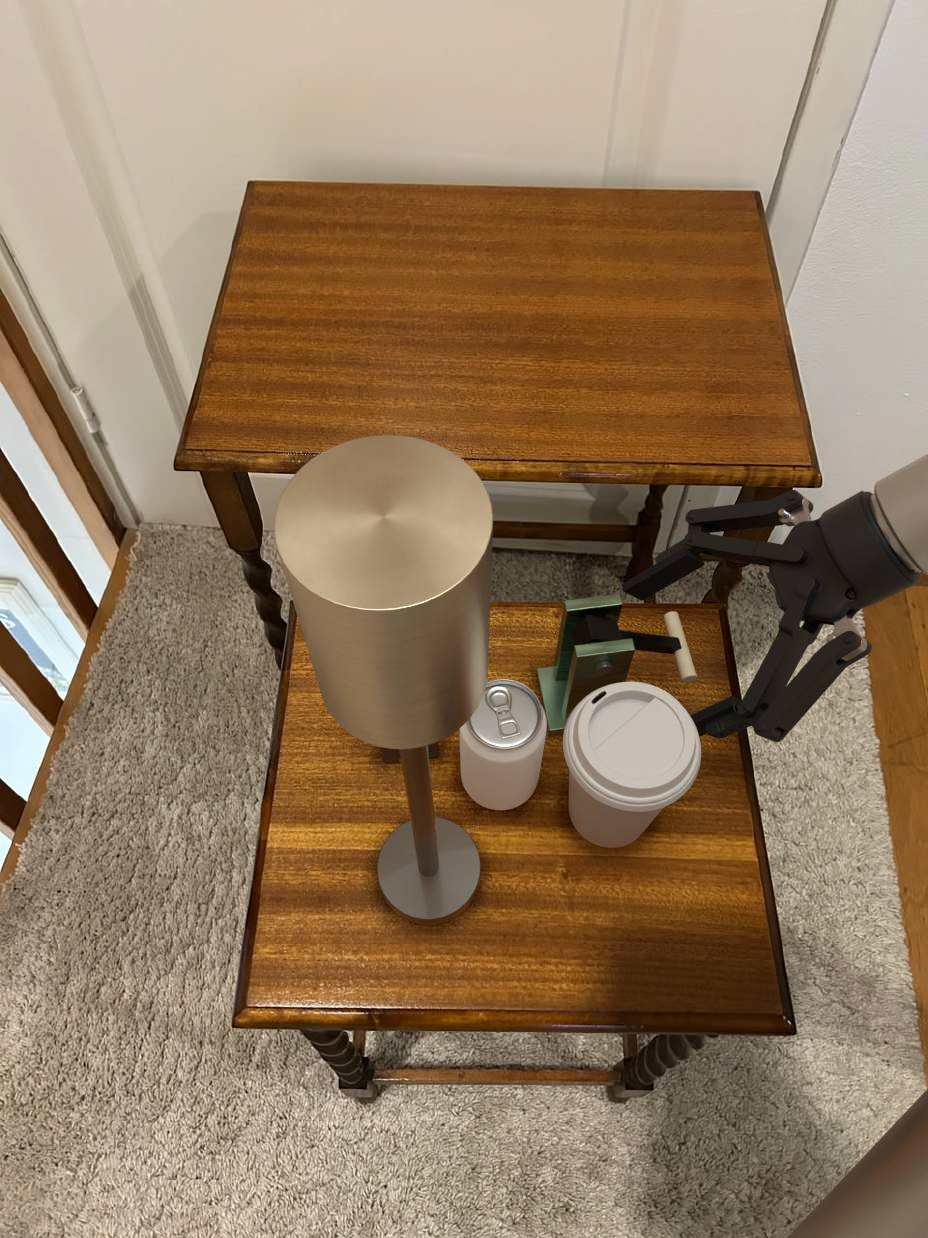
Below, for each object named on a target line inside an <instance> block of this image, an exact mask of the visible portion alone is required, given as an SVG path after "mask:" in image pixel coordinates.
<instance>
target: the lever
mask: <svg viewBox="0 0 928 1238" xmlns="http://www.w3.org/2000/svg"><path fill="white" fill-rule="evenodd" d="M679 615H680V614H679V613H678V612H677V611H675V610H674V611H673V610H672V611H668V612H666V613H665V614H663V621H664V624H665V627H666V631H667V635H662V634H654V633H648V632H647V633H645V632H638V631H630V630H624V629H623V630H621V629H620V627H619V624H618V623H619V622H618V623H617V619H615V618H608V617H600V616H592V615H585V616H584V617H583V619H582V620H581V621H580V622H579V623H578V624H577V625H576V626H575V627H574V628H573V629H572V630H571V633H572V638H573V642H574V646H575V645H583V644H591V643H599V642H607V641H615V640H623V639H631V638H632V639H633V643H634V647H635V651H641V652H650V653H658V654H667V655H674V659H675V660H676V666H677V669H678V672H679V675H680V679H681V682H682V683H691V682H694V681H696V680H697V678H698V675H697V672H696V668H695V666H694V661H693V659H692V655H691V652H690V649H689V646H688V642H687V639H686V636H685V633H684V629H683V625H682V623H681V619H680V616H679Z"/></svg>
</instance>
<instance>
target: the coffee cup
mask: <svg viewBox="0 0 928 1238" xmlns="http://www.w3.org/2000/svg"><path fill="white" fill-rule="evenodd" d="M690 715H691V714H690V713H689V712H688V711H687V710H686V708H685V707H684V706H683V704H682V703H681V702H680V701H678V699H676V698H675V697H674V696H673V695H672V694H671V693H669V692H667V691H666V690H664V689H662V688H660V687H659V686H656V685H653V684H650V683H646V682H641V681H625V682H621V683H614V684H610V685H607V686H604V687H601V688H599V689H597V690H595V691H593V692H592V693H590V694H589V695H587V696H586V697H585V698H584V699H583V700H582V701H581V702H580V703H579V704H578V705H577V706H576V707H575V708H574V710H573V711H572V713H571V714H570V716H569V718H568V720H567V723H566V726H565V729H564V734H562V735H563V737H562V749H563V755H564V758H565V759H564V760H565V762H566V765H567V768H568V770H569V771H568V814H569V818H570V821H571V823H572V825H573V827H574V829H575V830H576V831H577V833H578V834H579V835H580V837H582V838H583V839H585V840H586V841H587V842H589V843H591V844H593V845H595V846H598V847H601V848H607V849H616V848H622V847H625V846H628V845H630V844H632V843H634V842H635V841H637V839H639V837H641V835H642V834H643V833H644V832H645V830H646V829H647V828H648V827H649V826H650V825H651V823H652V822H653V821H654V820H655V819H656V817H657V816H658V815H659V814H660V813H661V812H662V810H663V809H664V808H665V807H667V806H670V805H671V804H673V803H674V802H676V801H677V800H679V799H681V798H682V797H683V796H684V795H685V794H686V793H687V792H688V791H689V790H690V788H691V787H692V785H694V782H695V780H696V778H697V776H698V774H699V772H700V771H699V770H700V767H701V762H702V745H701V738H700V737H699V734H698V731H697V728H696V726H695V724H694V722H693V720H692V718H691V716H690Z"/></svg>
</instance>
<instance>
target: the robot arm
mask: <svg viewBox="0 0 928 1238" xmlns="http://www.w3.org/2000/svg"><path fill="white" fill-rule="evenodd" d="M873 489H874V490H873V493H872V492H871V491H867V490H866V491H864V490H861V491H859V492H856V493H855V494H853V495H851V496H849V497H847V498H846V499H844V500H843V501H841V502H839V503H837V504H835V505H834V506H832V507H830V508H828V509H826V510H825V511H824V512H822V514H821V515H820V517H818V518H816V519H813V520H812V516H811V513H812V512H813V511H814V503H813V502H812V501H811V500H810V499H808V498H807V497H806V496H804V495H803V494H802V493H800V492H799V491H797V489H790V490H788V491H785V492H783V493H781V494H779V495H777V496H775V497H773V498H771V499H767V500H758V501H750V502H749V501H748V502H742V503H734V504H727V505H726V504H725V505H718V506H710V507H709V506H708V507H702V508H701V507H700V508H694V509H690V510H688V511H687V513H685V516H684V519H685V522H686V523H687V533H685V536H684V537H683V539H681V540H679V541H678V542H676V543H674V544H673V545H671V546H670V547H667V548H666V549H665V550H663V551H661V552H660V553H658V554H657V556H656V557H655V558H654V560H655V564H654V565H652V566H651V567H648V568H647V569H644V570H643V571H642V572H640V573H638V574H637V575H635V576H633V577H631V578H629V579H628V580H627V581H625V582H623V583H622V584H621V588H622V592H623V593H624V594H627V595H629V596H631V597H633V598H635V599H637V600H639V601H641V602H643V601H645V600H646V599H648V598H650V597H651V596H653V595H655V594H657V593H659V592H660V591H663V590H664V589H666V588H667V587H669V586H671V585H672V584H674V583H676V582H678V581H680V580H681V579H683V578H685V577H687V576H688V575H690V574H691V573H693V572H695V571H698V569H701V568H702V567H705V566H706V565H705V561H704V558H703V557H702V556H701V555H703V556H705V557H707V558H710V556H711V557H714V558H715V557H716V558H721V559H727V560H732V561H737V562H742V563H747V564H753V565H758V566H763V567H768V572H766V577H767V579H768V582H769V584H770V585H771V587H772V588H773V589H774V594H775V602H776V605H777V607H778V609H780V610H781V611H782V612H783V614H782V617H781V619H780V621H779V622H778V632H777V634H776V636H775V638H774V639H773V641H772V643H771V645H770V646H769V649H768V651H767V653H766V655H765V656H764V658H763V660H762V662H761V664H760V665H759V667H758V670H757V671H756V673H755V675H754V677H753V679H752V681H751V683H750V685H749V686H748V688H747V690H746V692H745V694H744V695H743V697H742V699H740V698H737V697H736V696H733V695H730V696H728V697H726V698H724V699H721V700H720V701H718V702H716V703H714V704H711V705H709V706H707V707H705V708H702V709H700V710H699V711H696V712H694V713H692V714H689V715H690V716H691V718H692V720H693V722H694V724H695V726H696V728H697V731H698V734H699V738H700V737H702V736H705V735H706V736H710V737H712V738H715V739H725V738H728V737H730V736H732V735H734V734H737V733H739V732H741V731H743V730H745V729H748V728H750V727H752V729H753V732H754V734H755V735H757V736H758V737H761V738H763V739H766V740H769V741H771V742H774V743H780V742H782V741H783V740H784V739H785V738H786V737H787V736H788V734H789V733H790V732H791V731H792V730H793V729H794V728H795V726H796V725H797V724H798V723H799V722H801V719H803V718H804V716H806V714H807V713H808V711H809V710H810V709H811V708H812V707H813V706H814V705H815V704H816V703H817V702H818V701H819V699H820V698H821V697H822V696H823V695H824V693H825V692H826V691H827V690H828V689H829V688H830V687H831V686H832V684H833V683H834V682H835V681H836V680H837V678H838V677H839V676H840V675H841V674H842V673H843V672H844V671H845V670H846V668H848V667H850V666H851V665H854V664H855V663H856V662H858V661H860V660H862V659H863V658H865V657H867V656H869V654H870V653H872V649H873V644H872V643H871V642H870V641H869V640H868V639H866V638H864V637H863V636H862V635H861V633H860V631H859V630H858V628H857V626H856V624H855V622H854V621H853V618H854V617H855V616H856V615H857V614H858V613H859V612H860V611H861V610H862V609H865V608H867V607H870V606H873V605H876V604H879V603H881V602H883V601H885V600H887V599H889V598H892V597H894V596H895V595H898V594H900V593H902V592H903V591H906V590H909V589H910V588H912V587H914V586H916V585H918V583H919V580H920V579H921V577H922V576H921V575H922V574H921V573H923V574H925V575H927V576H928V453H926V454H925V455H923V456H920V457H919V458H917V459H916V460H914V461H911V462H910V463H908V464H906V465H905V466H903V467H901V468H899V469H898V470H896V471H894V472H892V473H890V474H888V475H886V476H885V477H882V478H881V479H879V480H877V481H876V482H875V484H874V487H873ZM784 525H785V526H786V527H789V528H790V527H792V528H791V529H790V531H789V533H788V535H787V536H786V538H785V539H784V541H783V543H777V542H770V541H765V540H758V541H755V540H748V539H744V538H737V537H730V536H725V535H719V534H713V533H721V532H733V531H741V530H751V529H759V528H760V529H762V528H770V527H780V526H784ZM801 622H803V623H802V625H801ZM824 625H828V626H834V627H833V631H832V632H831V633H829V634H828V635H827V636H826V643H824V644H823V645H822V646H821V647H819V648H818V649H817V651H816V652H815V653H814V654H813V655H812V656H811V657H810V658H809V660H808V661H807V662H806V663H805V664H804V666H803V667H801V669H799V671H798V672H797V674H796V675H795V676H794V675H793V674H794V673H795V671H796V669H797V668H798V665H799V664H800V662H801V660H802V658H803V656H804V654H805V653H806V651H807V649H808V647H809V646H811V645H813V644H814V643H815V641H816V639H817V638H818V636H819V635H820V632H821V631H822V628H823V627H824ZM792 676H794V677H793V678H792ZM786 1238H928V1088H926V1090H925V1091H924V1092H923V1093H922V1094H921V1095H920V1096H919V1097H918V1098H917V1099H916V1101H914V1102H913V1103H912V1104H911V1105H910V1107H908V1109H907V1110H906V1111H905V1112H904V1113H903V1114H902V1115H901V1116H900V1117H899V1118H898V1120H896V1122H895V1123H894V1124H893V1125H892V1126H891V1127H890V1128H888V1130H887V1131H886V1132H884V1134H883V1135H882V1136H881V1137H880V1138H879V1139H878V1141H877V1142H876V1143H874V1145H873V1146H872V1147H871V1148H870V1149H869V1150H868V1151H867V1152H866V1153H865V1154H864V1156H862V1157H861V1158H860V1160H858V1162H856V1164H854V1166H853V1167H852V1168H851V1169H850V1170H849V1172H847V1173H846V1175H844V1176H843V1178H842V1179H840V1181H839V1182H838V1183H837V1184H836V1185H835V1186H834V1187H833V1188H832V1189H831V1190H830V1191H829V1192H828V1194H826V1195H825V1197H824V1198H823V1199H822V1200H821V1201H820V1202H819V1203H818V1204H817V1205H816V1206H815V1207H814V1208H813V1209H812V1211H811V1212H809V1214H807V1216H806V1217H805V1218H804V1219H803V1220H802V1221H801V1222H800V1223H799V1224H798V1225H797V1226H796V1228H794V1229H793V1231H792V1232H791V1233H790V1234H789V1235H788V1236H787V1237H786Z"/></svg>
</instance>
